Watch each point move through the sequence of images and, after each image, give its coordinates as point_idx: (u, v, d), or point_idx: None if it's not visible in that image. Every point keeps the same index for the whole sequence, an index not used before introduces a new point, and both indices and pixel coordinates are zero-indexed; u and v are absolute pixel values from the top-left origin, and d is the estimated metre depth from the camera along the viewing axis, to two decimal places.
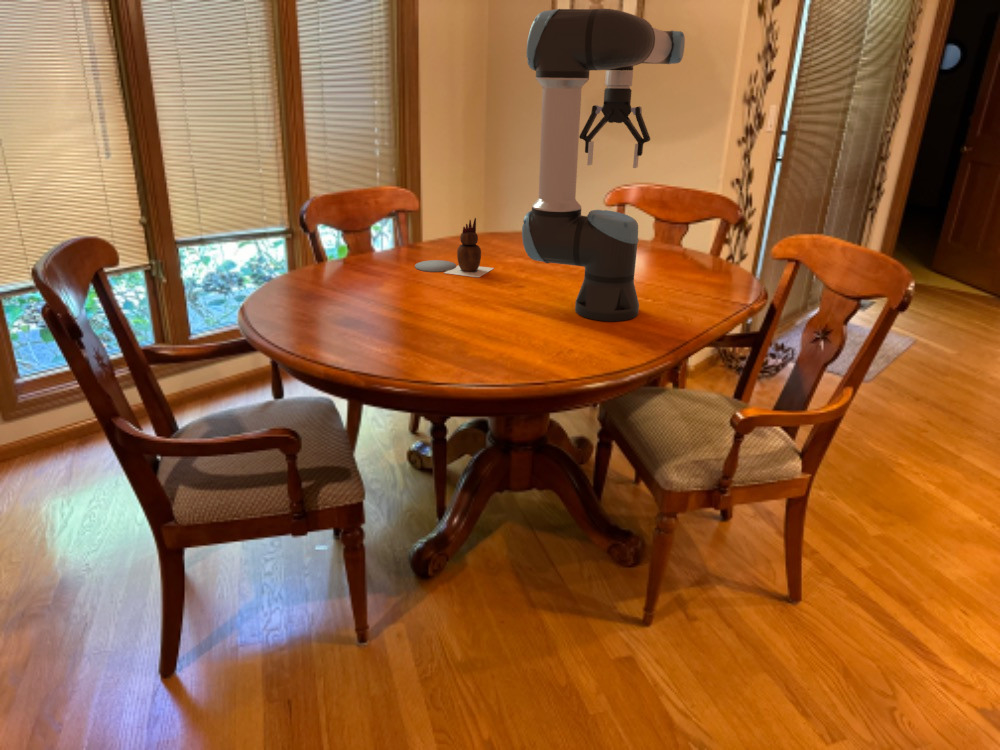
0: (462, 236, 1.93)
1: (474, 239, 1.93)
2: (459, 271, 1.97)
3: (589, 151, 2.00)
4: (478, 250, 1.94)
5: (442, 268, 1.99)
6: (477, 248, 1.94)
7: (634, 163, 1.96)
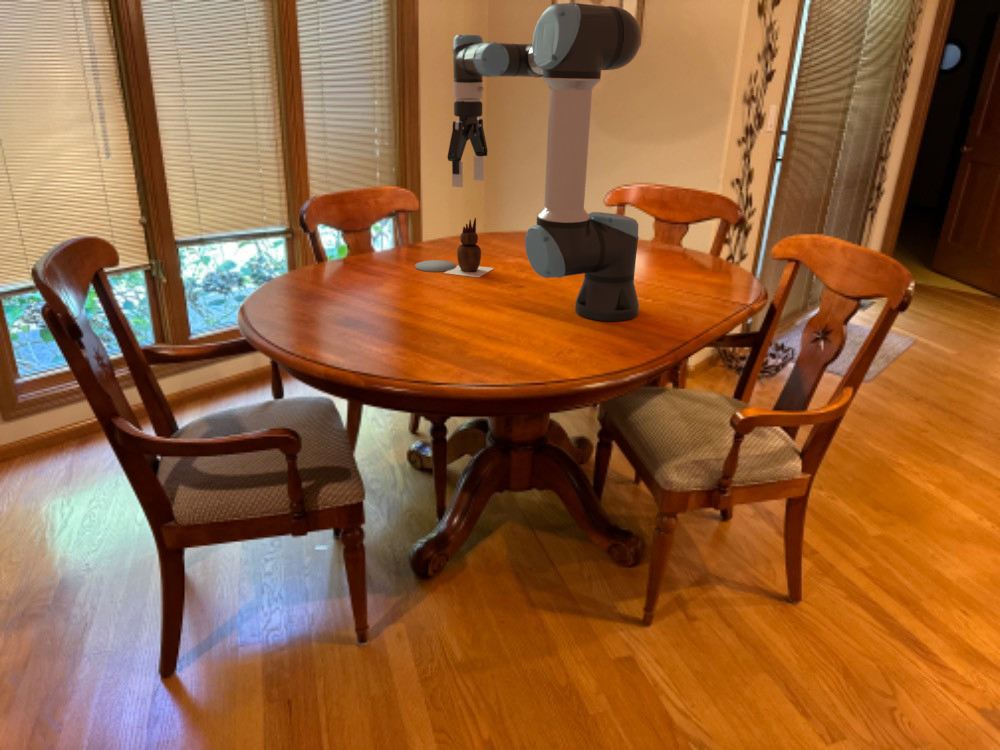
0: (462, 236, 1.93)
1: (474, 239, 1.93)
2: (459, 271, 1.97)
3: None
4: (478, 250, 1.94)
5: (442, 268, 1.99)
6: (477, 248, 1.94)
7: None
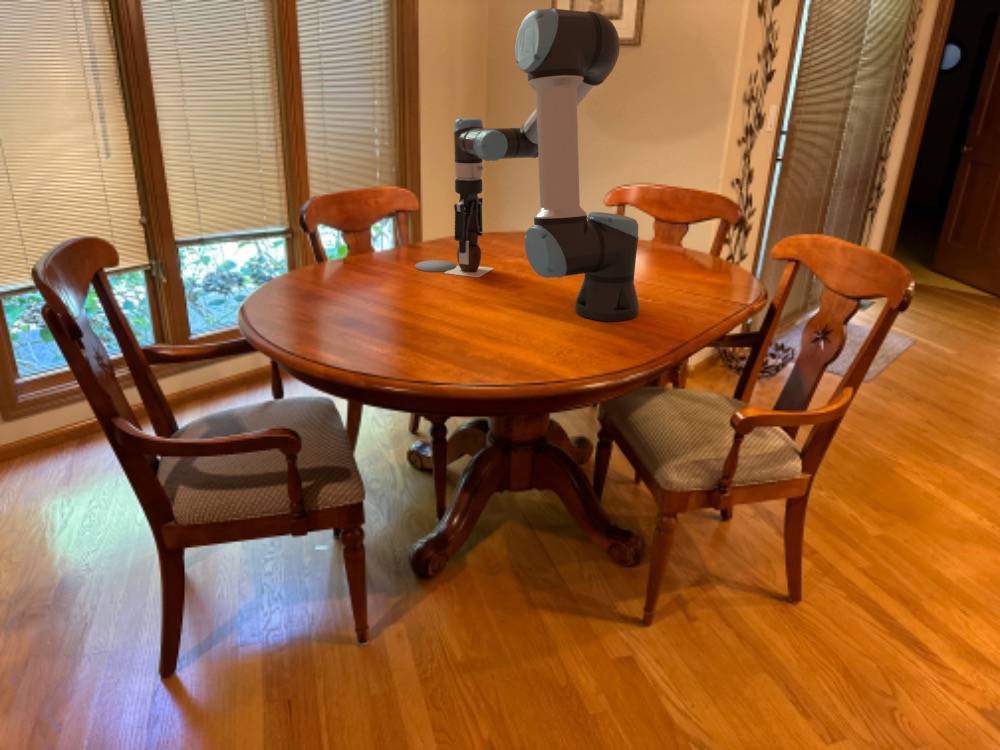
0: None
1: (474, 239, 1.93)
2: (459, 271, 1.97)
3: None
4: (478, 250, 1.94)
5: (442, 268, 1.99)
6: (477, 248, 1.94)
7: None
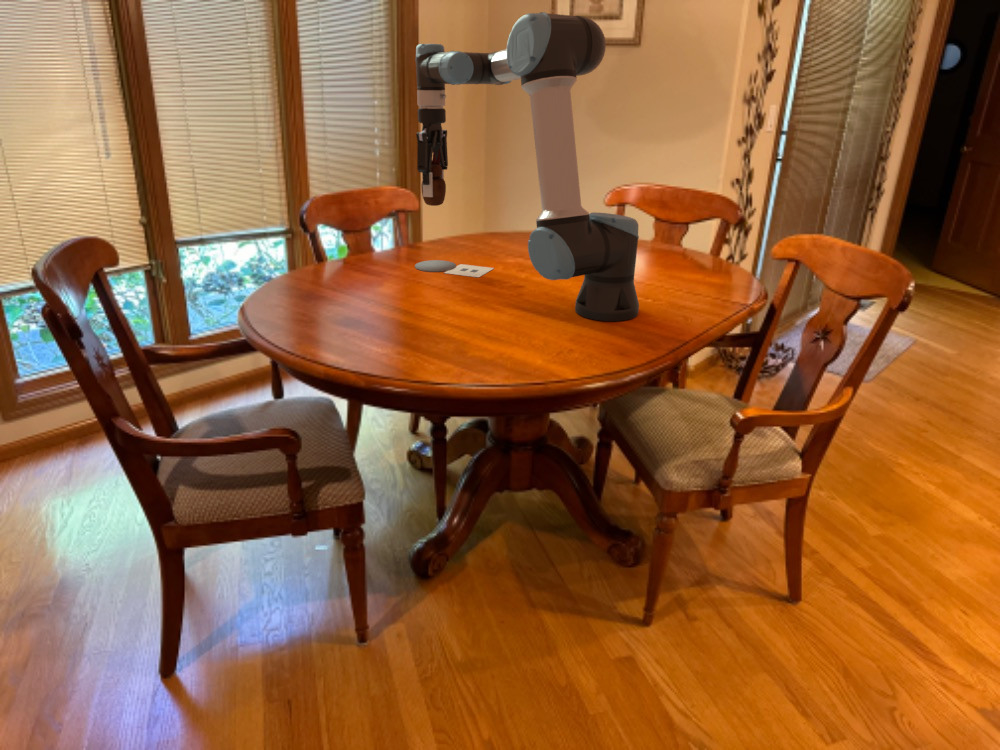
0: None
1: (438, 171, 1.90)
2: (459, 271, 1.97)
3: None
4: (442, 183, 1.91)
5: (442, 268, 1.99)
6: (441, 181, 1.91)
7: None
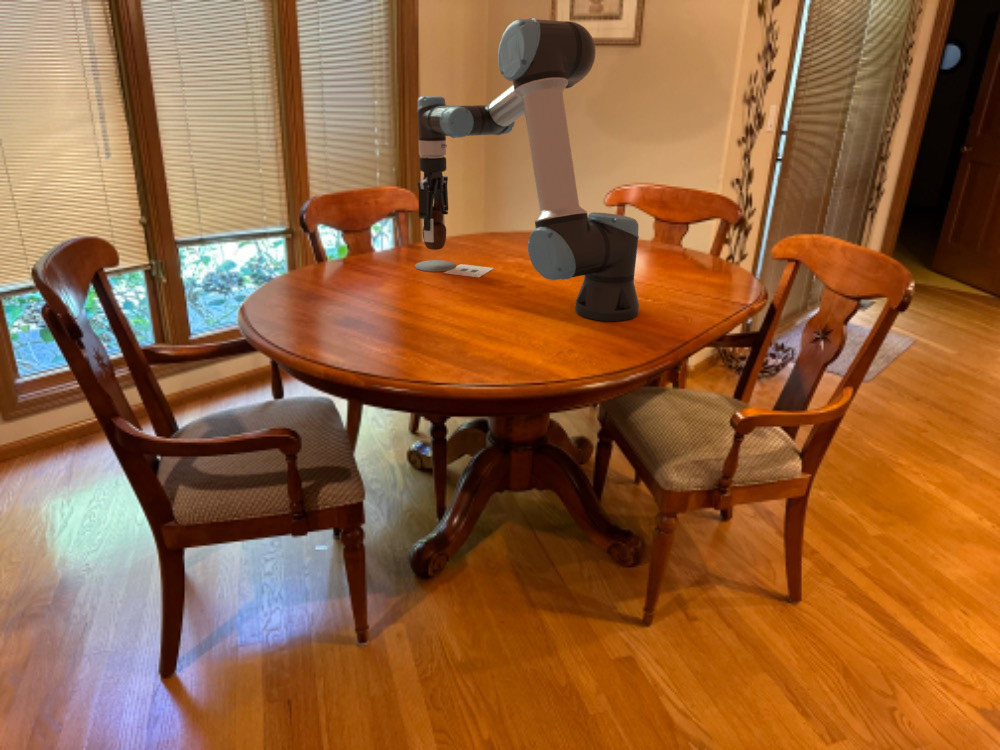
0: None
1: (439, 217, 1.95)
2: (459, 271, 1.97)
3: None
4: (443, 228, 1.96)
5: (442, 268, 1.99)
6: (442, 226, 1.96)
7: None
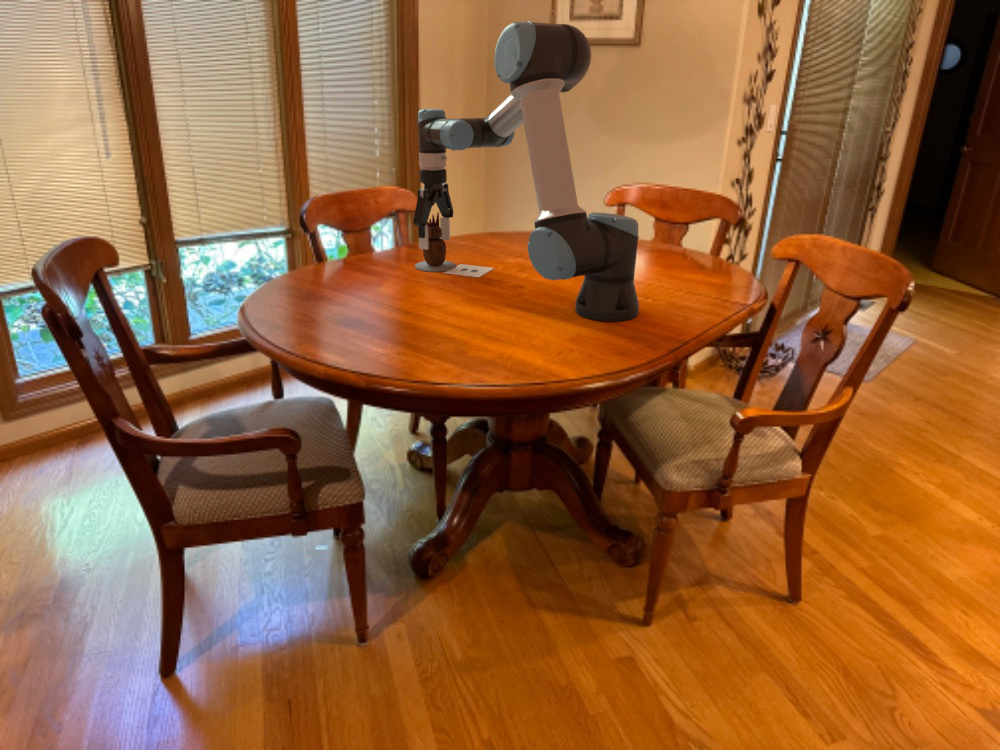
0: None
1: (438, 233, 1.97)
2: (459, 271, 1.97)
3: None
4: (442, 243, 1.98)
5: (442, 268, 1.99)
6: (441, 242, 1.98)
7: None
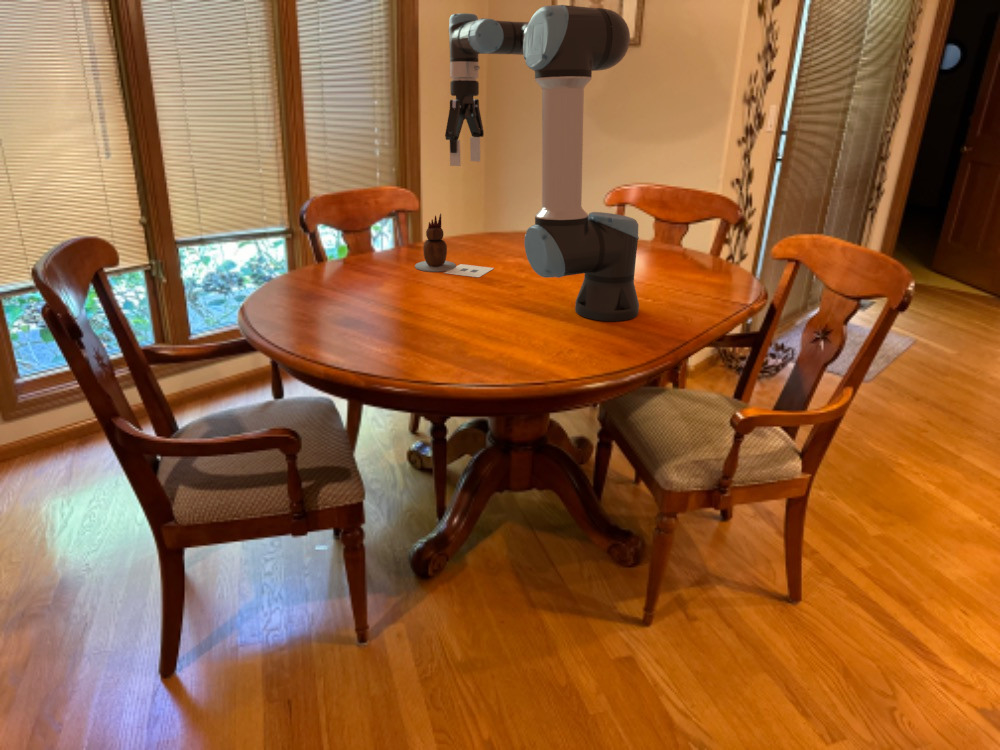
0: (427, 231, 1.97)
1: (439, 235, 1.97)
2: (459, 271, 1.97)
3: None
4: (443, 245, 1.98)
5: (442, 268, 1.99)
6: (442, 243, 1.98)
7: None
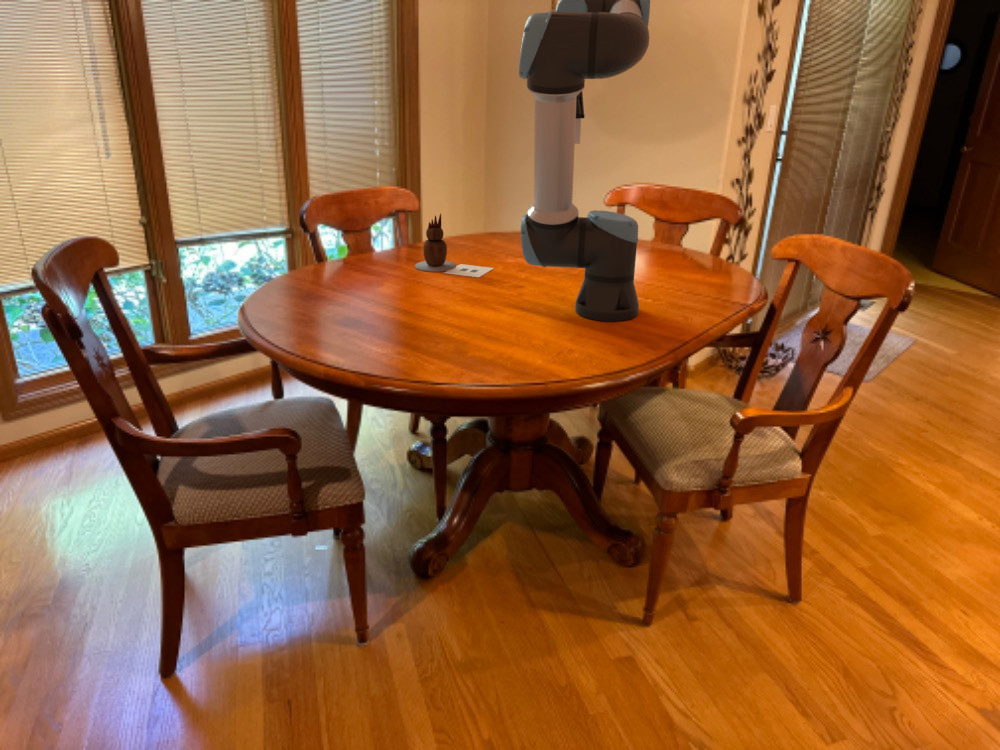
0: (427, 231, 1.97)
1: (439, 235, 1.97)
2: (459, 271, 1.97)
3: None
4: (443, 245, 1.98)
5: (442, 268, 1.99)
6: (442, 243, 1.98)
7: None
